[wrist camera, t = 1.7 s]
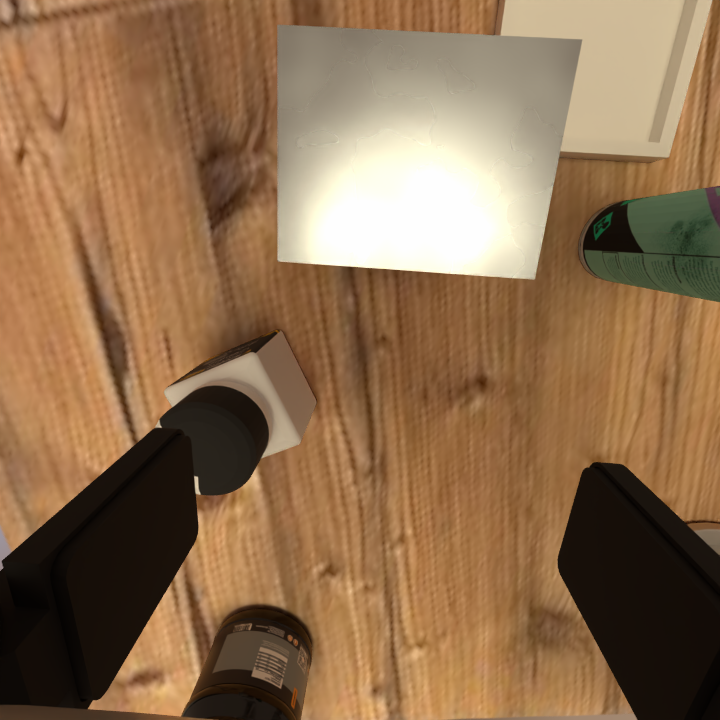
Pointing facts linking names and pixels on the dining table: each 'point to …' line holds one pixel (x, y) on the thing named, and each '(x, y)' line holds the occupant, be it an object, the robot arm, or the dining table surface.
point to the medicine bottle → (240, 410)
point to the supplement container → (254, 670)
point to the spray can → (658, 243)
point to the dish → (619, 69)
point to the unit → (419, 147)
